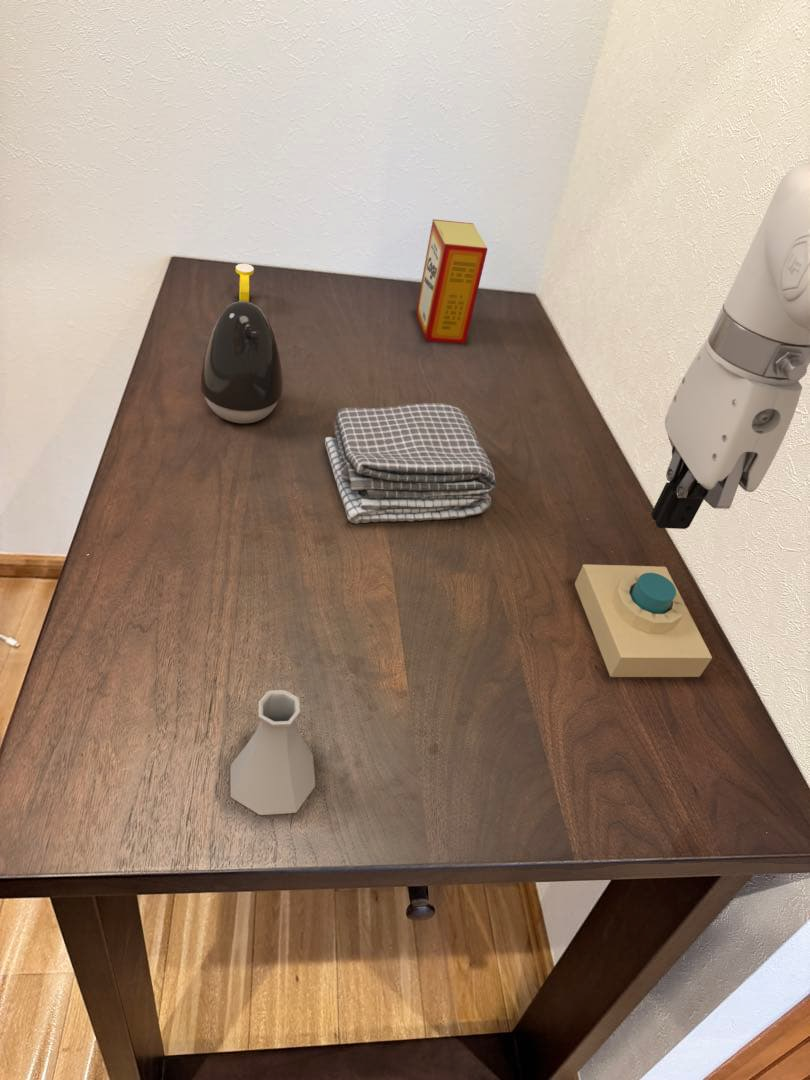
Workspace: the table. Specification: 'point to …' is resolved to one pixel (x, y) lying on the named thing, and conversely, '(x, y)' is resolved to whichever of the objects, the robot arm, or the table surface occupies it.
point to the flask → (274, 760)
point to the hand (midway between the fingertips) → (668, 522)
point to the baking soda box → (450, 281)
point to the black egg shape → (242, 365)
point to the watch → (244, 280)
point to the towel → (409, 464)
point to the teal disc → (653, 593)
